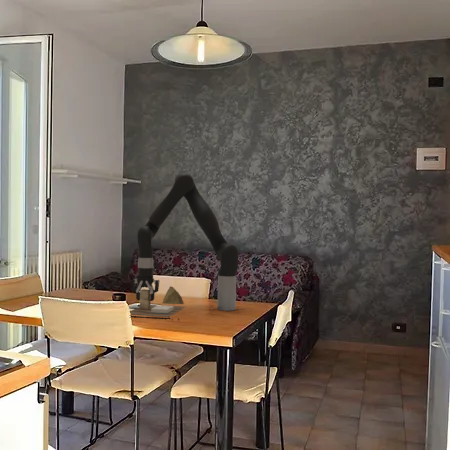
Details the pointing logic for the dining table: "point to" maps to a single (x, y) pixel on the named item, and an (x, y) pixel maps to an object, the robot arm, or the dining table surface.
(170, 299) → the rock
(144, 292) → the block
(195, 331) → the dining table surface
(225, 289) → the robot arm
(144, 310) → the board
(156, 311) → the tile
